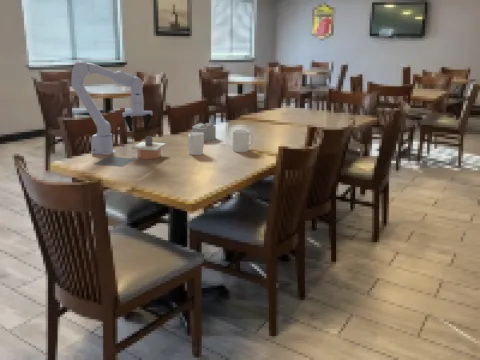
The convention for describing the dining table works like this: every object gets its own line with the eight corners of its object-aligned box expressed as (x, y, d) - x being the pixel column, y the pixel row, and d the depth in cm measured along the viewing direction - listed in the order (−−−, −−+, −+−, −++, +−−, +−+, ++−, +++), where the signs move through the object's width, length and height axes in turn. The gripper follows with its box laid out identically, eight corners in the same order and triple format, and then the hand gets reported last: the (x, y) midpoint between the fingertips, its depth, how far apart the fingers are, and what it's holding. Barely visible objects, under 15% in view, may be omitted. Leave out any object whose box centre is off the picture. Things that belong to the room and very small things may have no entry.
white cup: (201, 156, 218) (201, 135, 215) (185, 154, 220) (185, 134, 217) (205, 152, 226) (205, 132, 223) (190, 151, 227) (190, 131, 224)
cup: (229, 149, 232) (229, 130, 229) (248, 147, 238) (248, 128, 235) (238, 153, 225) (238, 133, 222) (257, 150, 232) (258, 130, 229)
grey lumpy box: (190, 138, 255) (190, 123, 252) (209, 136, 262) (209, 121, 260) (200, 142, 247) (200, 126, 244) (219, 139, 255) (220, 124, 252)
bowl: (135, 158, 210) (134, 148, 209) (143, 153, 220) (143, 143, 218) (155, 160, 209) (154, 150, 207) (163, 155, 218) (162, 145, 216)
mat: (93, 165, 199) (92, 164, 199) (108, 157, 212) (108, 156, 212) (122, 167, 196) (122, 166, 196) (136, 159, 209) (136, 158, 209)
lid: (131, 148, 208) (131, 138, 207) (142, 143, 219) (141, 133, 218) (156, 150, 206) (155, 140, 204) (165, 144, 217) (165, 135, 216)
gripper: (125, 104, 210) (126, 133, 214) (154, 102, 218) (155, 130, 222) (120, 102, 216) (121, 130, 220) (148, 101, 223) (149, 128, 227)
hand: (138, 130), depth 221 cm, fingers open, 7 cm apart
